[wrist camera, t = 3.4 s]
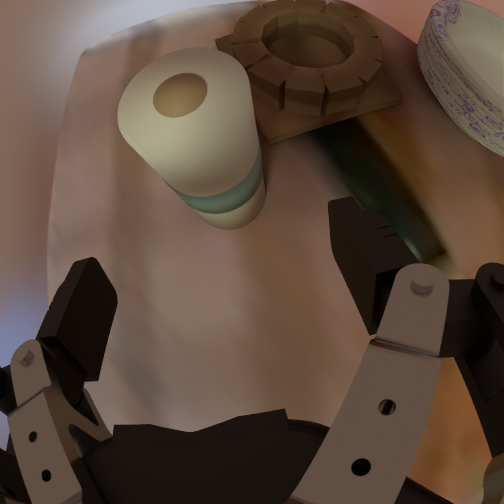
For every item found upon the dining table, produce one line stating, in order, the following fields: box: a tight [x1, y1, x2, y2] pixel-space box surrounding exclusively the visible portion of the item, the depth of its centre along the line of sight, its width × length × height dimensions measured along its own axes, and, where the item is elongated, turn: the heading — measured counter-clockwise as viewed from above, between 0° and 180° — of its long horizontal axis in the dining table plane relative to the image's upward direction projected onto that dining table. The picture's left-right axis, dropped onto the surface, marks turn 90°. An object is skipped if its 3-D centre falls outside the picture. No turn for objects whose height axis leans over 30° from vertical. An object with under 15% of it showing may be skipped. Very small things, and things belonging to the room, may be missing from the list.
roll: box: [118, 48, 265, 230], centre depth 16 cm, size 5×5×12 cm
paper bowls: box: [417, 0, 504, 157], centre depth 17 cm, size 15×15×8 cm
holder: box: [215, 0, 403, 145], centre depth 21 cm, size 12×12×4 cm
